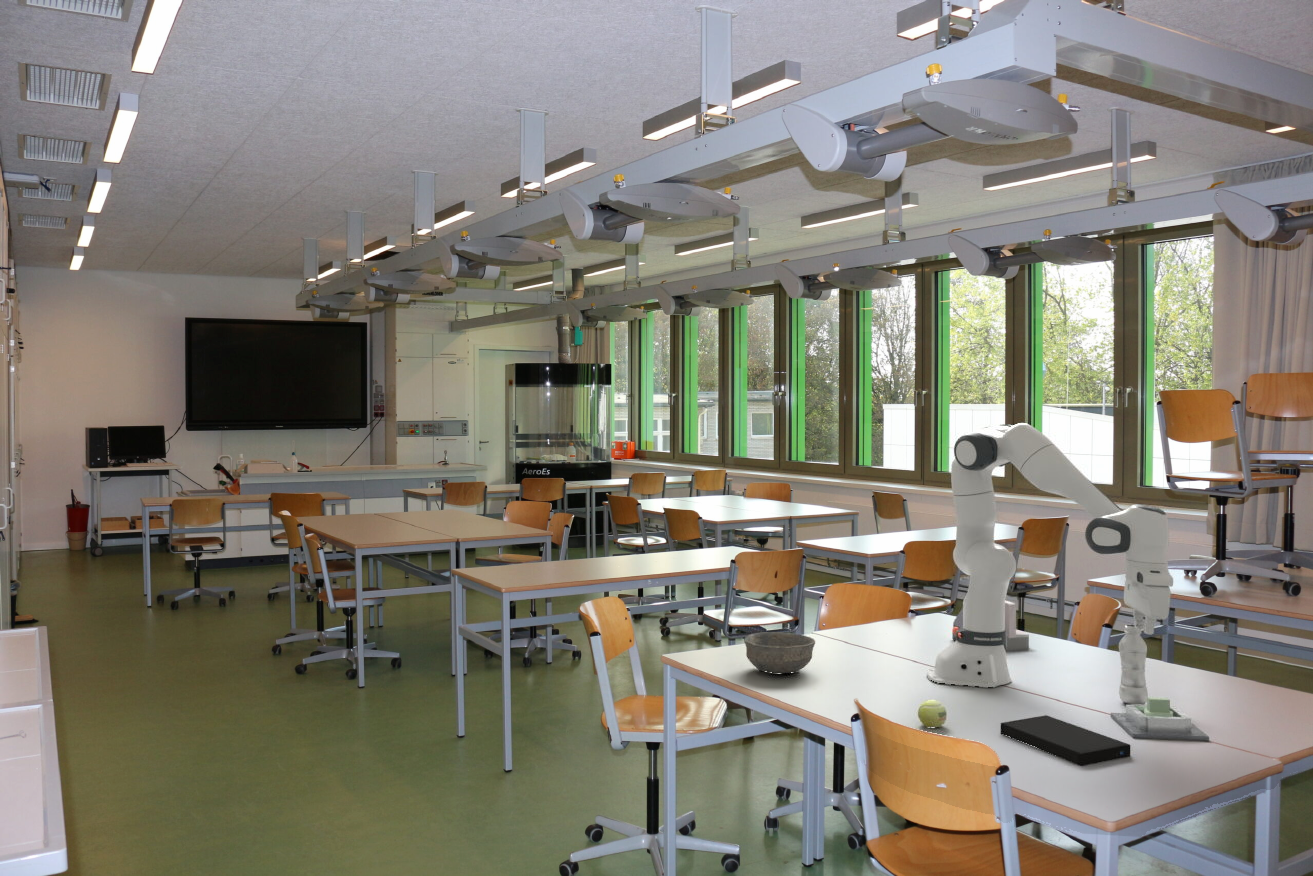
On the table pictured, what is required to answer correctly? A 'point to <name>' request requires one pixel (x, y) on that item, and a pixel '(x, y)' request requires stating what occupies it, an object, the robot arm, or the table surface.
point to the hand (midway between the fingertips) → (1143, 631)
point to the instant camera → (1014, 637)
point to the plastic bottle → (1133, 667)
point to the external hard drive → (1066, 740)
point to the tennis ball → (932, 713)
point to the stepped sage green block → (1158, 707)
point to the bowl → (779, 651)
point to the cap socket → (1158, 724)
